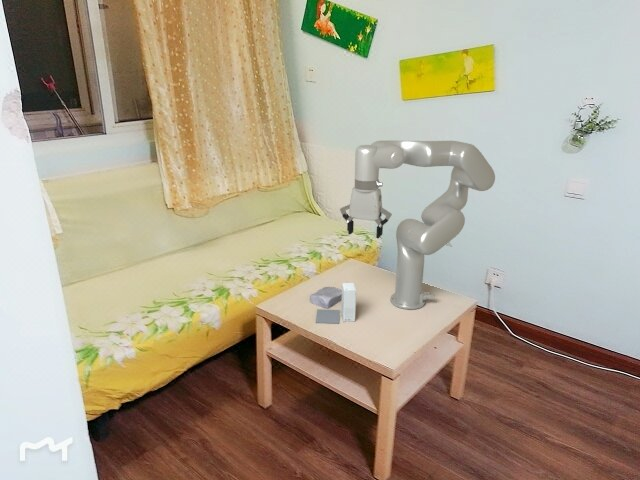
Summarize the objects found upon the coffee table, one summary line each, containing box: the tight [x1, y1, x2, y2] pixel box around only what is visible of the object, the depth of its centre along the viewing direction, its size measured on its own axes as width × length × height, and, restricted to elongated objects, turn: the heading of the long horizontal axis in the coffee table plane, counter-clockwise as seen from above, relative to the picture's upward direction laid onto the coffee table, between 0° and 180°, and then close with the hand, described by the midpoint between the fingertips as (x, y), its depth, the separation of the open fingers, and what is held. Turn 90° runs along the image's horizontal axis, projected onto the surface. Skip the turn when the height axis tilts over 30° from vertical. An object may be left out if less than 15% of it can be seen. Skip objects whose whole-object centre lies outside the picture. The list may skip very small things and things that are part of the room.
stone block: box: [309, 286, 342, 310], centre depth 173 cm, size 12×5×10 cm
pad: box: [315, 308, 341, 325], centre depth 161 cm, size 8×9×1 cm
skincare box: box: [340, 282, 357, 323], centre depth 159 cm, size 6×4×12 cm
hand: (364, 235), depth 154 cm, fingers open, 9 cm apart
